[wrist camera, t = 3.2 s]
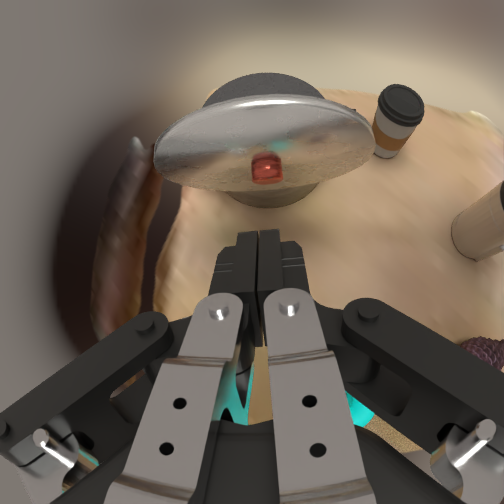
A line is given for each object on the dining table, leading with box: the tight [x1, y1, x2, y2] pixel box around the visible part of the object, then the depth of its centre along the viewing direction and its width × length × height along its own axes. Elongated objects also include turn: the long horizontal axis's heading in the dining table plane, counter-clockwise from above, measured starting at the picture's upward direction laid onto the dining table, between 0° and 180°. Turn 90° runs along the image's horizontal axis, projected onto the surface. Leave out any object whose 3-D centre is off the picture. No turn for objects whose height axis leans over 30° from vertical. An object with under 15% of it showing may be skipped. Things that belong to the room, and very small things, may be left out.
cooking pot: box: [202, 73, 356, 208], centre depth 51 cm, size 31×22×12 cm
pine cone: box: [460, 336, 504, 371], centre depth 39 cm, size 18×10×10 cm, turn 98°
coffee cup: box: [372, 84, 424, 158], centre depth 48 cm, size 8×8×15 cm
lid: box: [154, 94, 376, 192], centre depth 32 cm, size 23×24×3 cm
